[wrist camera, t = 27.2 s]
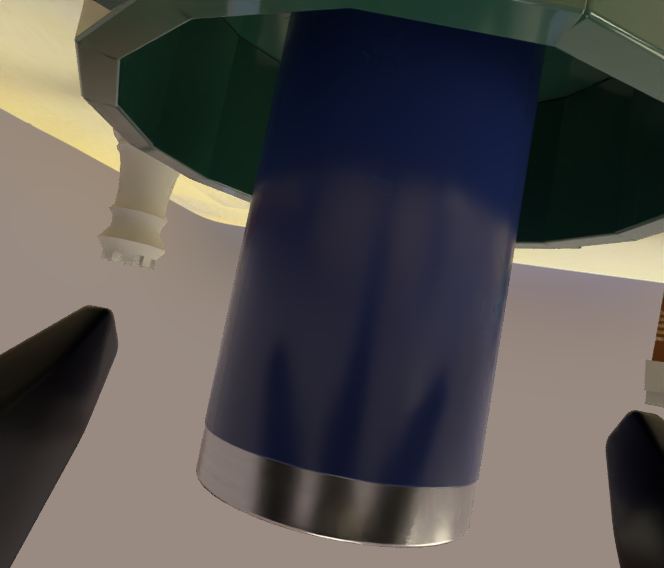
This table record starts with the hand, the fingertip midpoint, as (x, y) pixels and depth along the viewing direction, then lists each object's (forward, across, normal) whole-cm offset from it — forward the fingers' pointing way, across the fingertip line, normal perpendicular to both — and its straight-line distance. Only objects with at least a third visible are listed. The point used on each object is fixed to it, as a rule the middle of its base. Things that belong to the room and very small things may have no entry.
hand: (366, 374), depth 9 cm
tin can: (+10, 0, -4) cm, 10 cm away
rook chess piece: (+19, +11, +5) cm, 23 cm away
